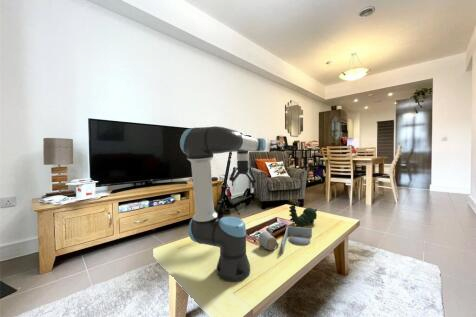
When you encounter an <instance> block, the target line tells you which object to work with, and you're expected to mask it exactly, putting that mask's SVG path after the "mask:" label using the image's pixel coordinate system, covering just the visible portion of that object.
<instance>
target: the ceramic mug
mask: <svg viewBox="0 0 476 317" xmlns="http://www.w3.org/2000/svg"><path fill="white" fill-rule="evenodd" d="M257 241H258V244H259V245H260V246H261V247H263V248H265V249H266V250H269V251H273V250H274V249H275V248H276V247H279V244H280V243H279V242H278V241H277V239H276V238H275V237H274V235H271V234H270V233H268V232H267V231H263V232H261V233H260V234H259V236H258V238H257Z"/></svg>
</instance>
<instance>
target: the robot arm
mask: <svg viewBox="0 0 476 317" xmlns="http://www.w3.org/2000/svg"><path fill="white" fill-rule="evenodd" d="M179 146H180V149H181V151H182V153H183V154H185V155H186V160H188V161H189V162H190V164H191V176H192V189H193V197H194V198H193V199H194V200H193V201H194V211H195V213H194V214H193V215H192V218H191V219H190V221H189V223H188V224H189V225H188V229H187V230H188V236H189V238H190V240H191V241H193V242H194V243H198V244H199V245H200V244H201V245H206V246H207V245H208V246H213V247H216V248H219V258H218V261H217V264H216V275H217V277H218V278H219V279H220V280H222V281H225V282H228V283H229V282H230V283H231V282H233V283H234V282H240V281H243V280H246V279H247V278H248V277H249V276H250V274H251V265H250V264H251V263H250V261H249V258H248V256H247V230H246V223H245V222H244V220H243V219H241V218H239V217H236V216H223V217H221V218H220V219H219V216H218V215H219V214H218V212H216V210H215V206H214V204H215V202H214V193H213V181H212V180H213V179H212V178H213V177H212V176H213V175H212V165H211V164H212V163H211V160H212V159H213V158H214V155H215V154H216V155H217V154H223V153H232V152H236V160H237V161H236V166H237V167H236V166H234V167H233V168H232V172H231V175H230V177H229V181H230V182H231V187H232V192H235V191H237V181H236V180H237V178H239V175H246V177H247V178H248V179H249V181H250V194H252V193H254V192H255V191H254V189H255V188H256V187H255V186H256V185H255V184H256V183H258V179H257V177H256V175H255V172H254V168H253V167H249V152H264V151H266V148H267V141H266V139H265V138H255V137H251V136H247V135H245V134H241V133H240V132H239V131H237V130H235V129H232V128H231V129H230V128H227V127H223V126H205V127H202V126H201V127H191V128H187V129H186V130H184V131H183V133H182V134H181V137H180V140H179Z"/></svg>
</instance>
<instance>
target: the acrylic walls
mask: <svg viewBox="0 0 476 317" xmlns="http://www.w3.org/2000/svg"><path fill="white" fill-rule="evenodd" d="M285 229H286V230H285V233H284V236H283V238H282V243H281V254H283V255H284V253H285V248H286V244H287V240H288V236H289V235H291V236H293V235H300V236H305V237H307V238H309V237H310V238H312V237H313V228H312V227H311V228H309V227H302V226H301V227H300V226H291V225H290V226H289V225H287V226H286V228H285Z"/></svg>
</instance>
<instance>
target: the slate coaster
mask: <svg viewBox="0 0 476 317" xmlns="http://www.w3.org/2000/svg"><path fill="white" fill-rule="evenodd" d="M288 241H289V242H290V243H291V244H293V245H296V246H307V245H309V244H310V243H311V239H310V238H309V237H308V236H300V235H291V236H289V238H288Z"/></svg>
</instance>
